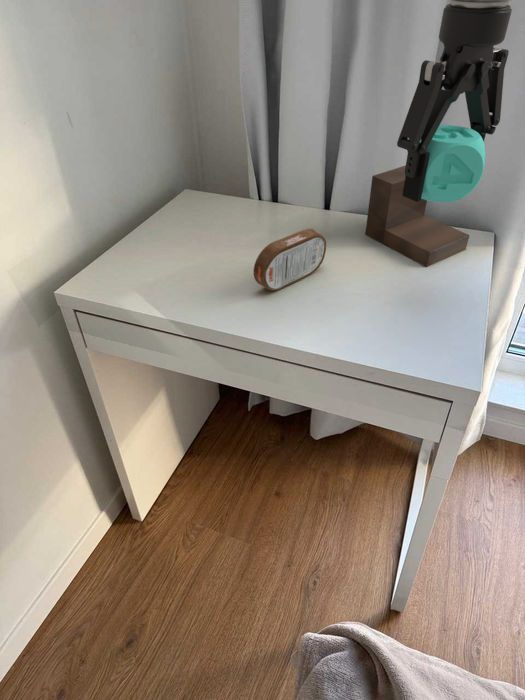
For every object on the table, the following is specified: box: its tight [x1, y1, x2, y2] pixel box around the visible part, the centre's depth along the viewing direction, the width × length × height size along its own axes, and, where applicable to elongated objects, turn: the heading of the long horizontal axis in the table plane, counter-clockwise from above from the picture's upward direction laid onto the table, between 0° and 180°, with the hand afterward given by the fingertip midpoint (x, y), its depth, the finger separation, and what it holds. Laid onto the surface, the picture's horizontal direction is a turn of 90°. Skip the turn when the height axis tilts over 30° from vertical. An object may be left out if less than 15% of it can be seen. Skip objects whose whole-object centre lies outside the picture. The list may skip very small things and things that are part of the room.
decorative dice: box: [420, 124, 486, 203], centre depth 69 cm, size 8×8×8 cm
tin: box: [253, 227, 327, 292], centre depth 85 cm, size 15×3×8 cm, turn 130°
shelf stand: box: [364, 164, 470, 268], centre depth 94 cm, size 16×11×12 cm
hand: (438, 188), depth 72 cm, fingers closed on decorative dice, 11 cm apart
